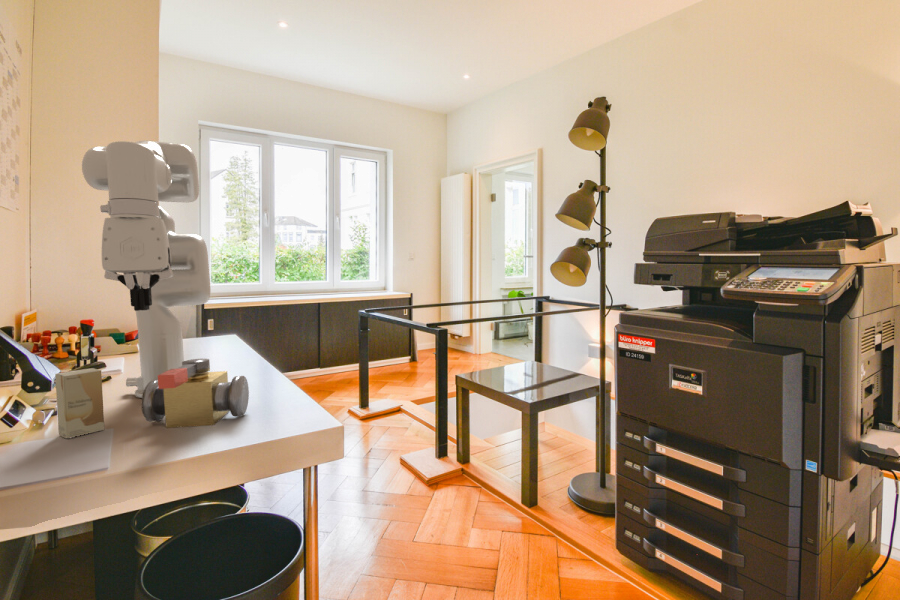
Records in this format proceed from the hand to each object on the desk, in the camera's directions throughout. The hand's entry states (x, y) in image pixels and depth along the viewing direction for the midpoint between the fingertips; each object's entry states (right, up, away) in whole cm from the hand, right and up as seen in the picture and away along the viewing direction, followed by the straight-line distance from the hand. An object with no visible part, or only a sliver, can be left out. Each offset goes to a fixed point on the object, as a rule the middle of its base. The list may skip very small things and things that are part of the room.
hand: (142, 309), depth 84 cm
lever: (+6, -14, +5) cm, 15 cm away
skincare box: (-14, -25, +4) cm, 29 cm away
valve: (+5, -23, +10) cm, 26 cm away
